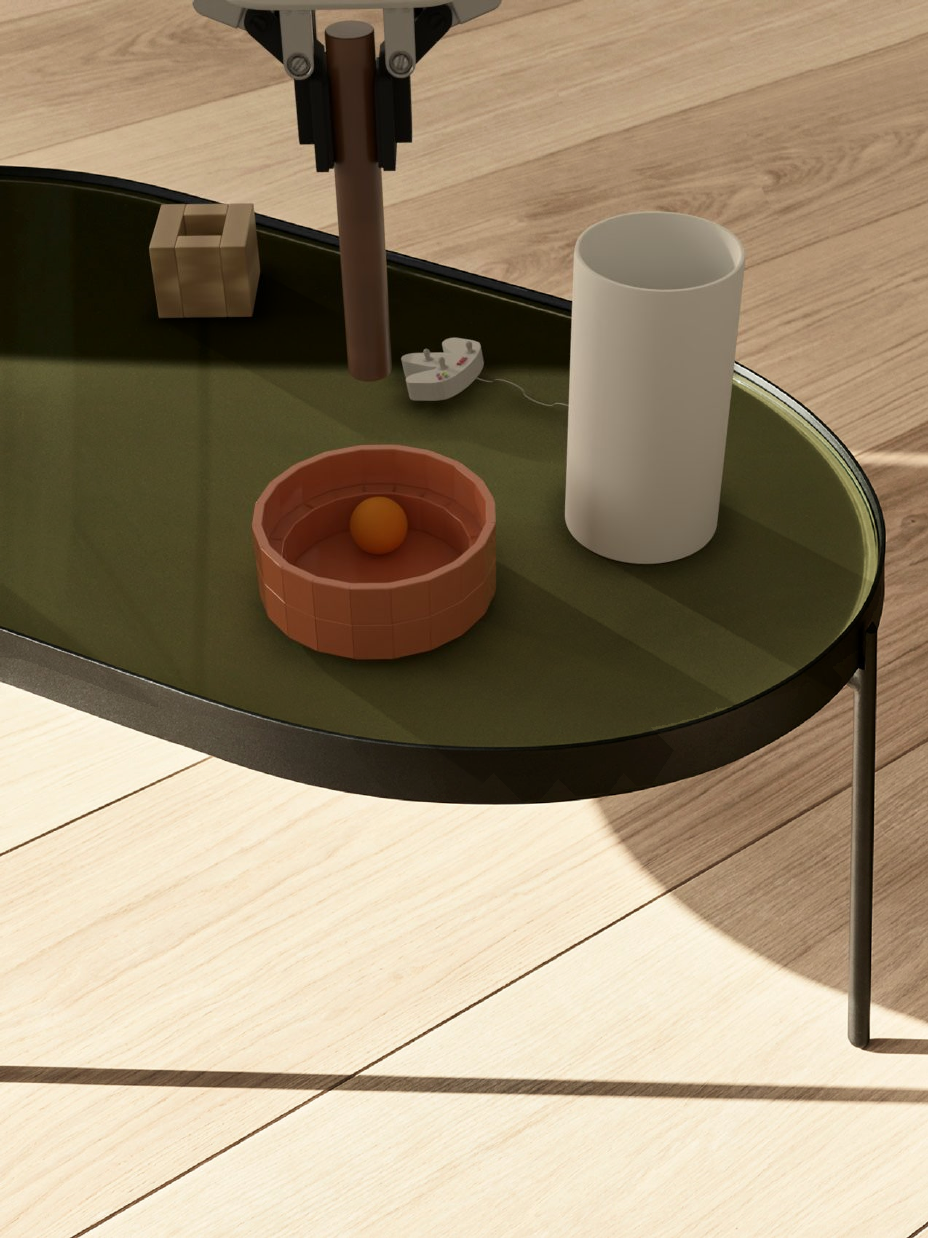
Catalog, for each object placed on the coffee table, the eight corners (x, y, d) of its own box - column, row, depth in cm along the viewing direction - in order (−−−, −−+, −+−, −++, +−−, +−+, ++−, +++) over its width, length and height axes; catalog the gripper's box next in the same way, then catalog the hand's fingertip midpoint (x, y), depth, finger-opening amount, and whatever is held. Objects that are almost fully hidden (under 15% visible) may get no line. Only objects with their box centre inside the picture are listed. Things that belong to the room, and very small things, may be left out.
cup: (746, 511, 91) (778, 243, 81) (659, 584, 86) (681, 309, 76) (624, 456, 95) (640, 195, 85) (534, 523, 91) (539, 255, 80)
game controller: (408, 356, 104) (407, 318, 102) (594, 371, 103) (596, 333, 101) (391, 405, 100) (389, 367, 98) (584, 422, 98) (586, 383, 97)
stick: (345, 381, 77) (320, 38, 67) (352, 357, 78) (329, 18, 68) (388, 383, 77) (370, 39, 66) (394, 359, 78) (377, 20, 68)
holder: (159, 318, 108) (148, 247, 105) (170, 272, 112) (161, 203, 109) (252, 317, 108) (245, 246, 105) (260, 271, 112) (253, 202, 109)
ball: (350, 566, 87) (346, 520, 85) (352, 531, 89) (349, 485, 87) (408, 565, 87) (406, 519, 85) (409, 530, 89) (407, 484, 87)
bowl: (251, 670, 82) (241, 590, 79) (271, 522, 91) (263, 445, 88) (498, 667, 82) (498, 587, 79) (493, 519, 91) (493, 442, 88)
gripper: (85, -306, 56) (158, 201, 68) (558, -315, 56) (549, 194, 68) (119, -351, 62) (180, 124, 74) (548, -360, 62) (541, 118, 74)
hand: (357, 154), depth 71 cm, fingers closed on stick, 2 cm apart
